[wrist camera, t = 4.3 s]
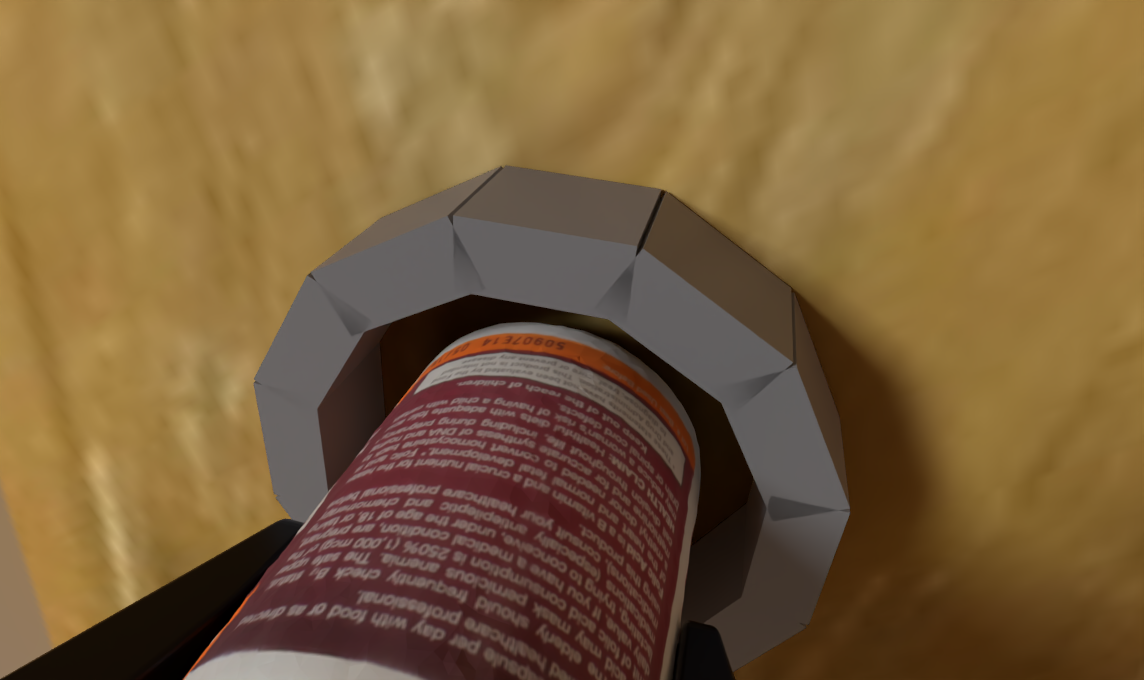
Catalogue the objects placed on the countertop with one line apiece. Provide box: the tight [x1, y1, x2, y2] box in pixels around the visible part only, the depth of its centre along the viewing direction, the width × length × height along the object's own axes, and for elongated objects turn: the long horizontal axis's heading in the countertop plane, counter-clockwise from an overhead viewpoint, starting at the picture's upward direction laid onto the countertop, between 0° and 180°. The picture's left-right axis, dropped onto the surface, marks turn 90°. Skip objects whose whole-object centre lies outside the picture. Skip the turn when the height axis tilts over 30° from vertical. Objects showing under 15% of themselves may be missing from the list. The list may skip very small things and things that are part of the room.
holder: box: [254, 166, 850, 672], centre depth 11 cm, size 8×8×2 cm
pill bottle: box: [183, 322, 701, 680], centre depth 8 cm, size 5×5×8 cm
